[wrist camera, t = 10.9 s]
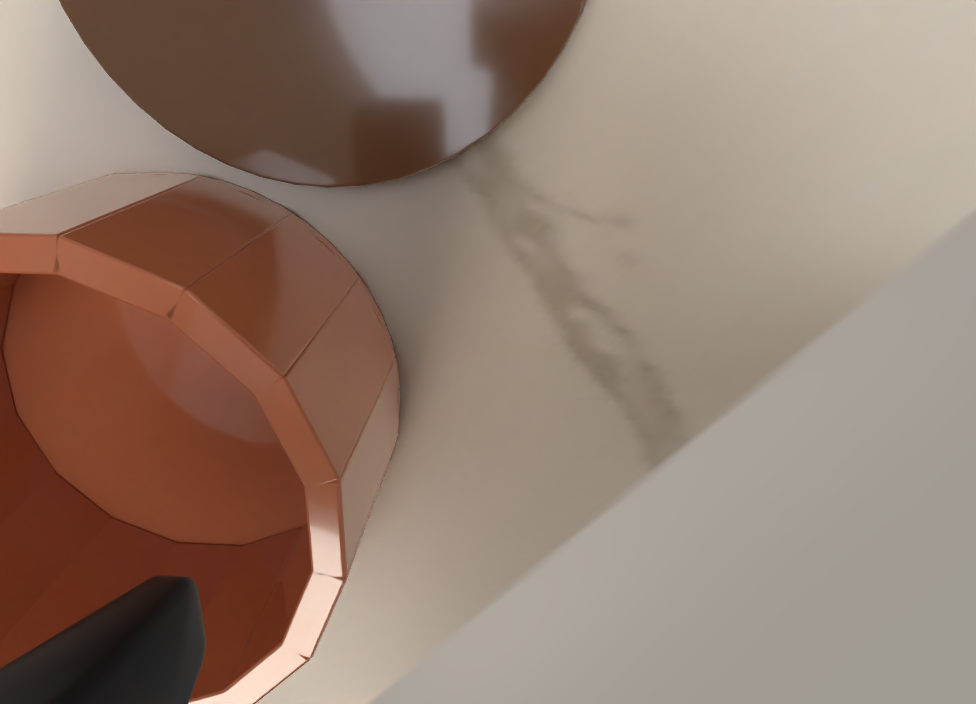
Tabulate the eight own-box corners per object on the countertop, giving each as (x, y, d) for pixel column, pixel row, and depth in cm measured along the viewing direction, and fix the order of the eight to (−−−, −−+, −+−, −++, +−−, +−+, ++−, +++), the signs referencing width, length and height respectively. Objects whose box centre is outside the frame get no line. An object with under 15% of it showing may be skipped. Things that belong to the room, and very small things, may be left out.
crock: (488, 392, 21) (465, 537, 15) (227, 617, 24) (123, 810, 18) (151, 70, 18) (-41, 87, 12) (-87, 371, 21) (-329, 500, 15)
